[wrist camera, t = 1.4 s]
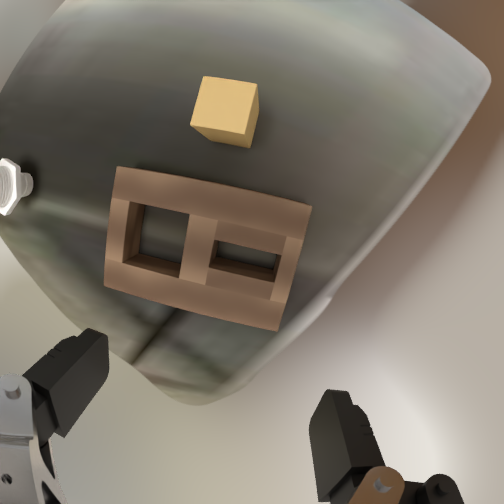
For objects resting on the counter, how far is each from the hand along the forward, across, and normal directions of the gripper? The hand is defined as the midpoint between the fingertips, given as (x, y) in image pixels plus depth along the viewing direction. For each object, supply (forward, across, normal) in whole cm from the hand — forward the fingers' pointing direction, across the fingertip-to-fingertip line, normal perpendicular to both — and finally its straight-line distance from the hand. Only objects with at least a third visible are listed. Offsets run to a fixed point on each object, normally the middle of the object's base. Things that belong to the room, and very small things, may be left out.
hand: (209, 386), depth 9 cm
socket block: (+20, +4, 0) cm, 21 cm away
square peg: (+20, +4, -12) cm, 24 cm away
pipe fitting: (+20, +31, -2) cm, 37 cm away
